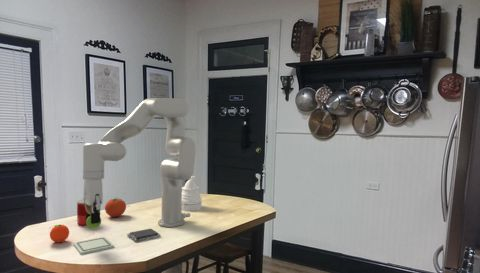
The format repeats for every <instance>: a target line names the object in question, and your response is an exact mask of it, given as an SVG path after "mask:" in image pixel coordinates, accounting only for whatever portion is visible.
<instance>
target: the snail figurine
mask: <svg viewBox="0 0 480 273" xmlns="http://www.w3.org/2000/svg"><path fill="white" fill-rule="evenodd" d="M84 204H85V209H86V211H87V213H88V214H90V216H89V217H88V218H87V220H86V225H87V226H86V227H87V228H89V229H91V230H94V229H98V227H100V226H101V224H102V218H101V217H100V223H94V224H92V223H91V213H92V206H89V207H88V205H87V204H86V203H85V198H84ZM93 205H96V203H93ZM95 207H96V206H95ZM95 207H94V208H95Z"/></svg>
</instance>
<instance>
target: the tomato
mask: <svg viewBox="0 0 480 273" xmlns="http://www.w3.org/2000/svg"><path fill="white" fill-rule="evenodd" d="M126 209H127V205H126V202H125V201H124V200H123V199H121V198H118V197H115V198H112V199H109V200H108V201H107V202H106V204H105V205H104V211H105V213H106V214H107V216H109V217H113V218H117V217H120V216H121V215H123V214H124V213H125V212H126Z"/></svg>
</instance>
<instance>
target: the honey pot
mask: <svg viewBox="0 0 480 273" xmlns="http://www.w3.org/2000/svg"><path fill="white" fill-rule="evenodd" d="M195 179H196V176H195V175H192V176H191V178H190V179H188V180H186V182H185V184H184V186H182V211H183V212H193V211H199V210H201V209H202V205H203V204H202V202H203V200H202V197H201V193H200V191H199V189H200V187H199V186H197V184H196V182H195Z"/></svg>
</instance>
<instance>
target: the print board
mask: <svg viewBox="0 0 480 273" xmlns="http://www.w3.org/2000/svg"><path fill="white" fill-rule="evenodd" d="M73 247H74V248H75V249H76V250H77V252H78V253H79V254H80V255H81V256H82V255H85V254H90V253H94V252H99V251H103V250H105V251H106V250H109V249H113V248H115V245H114V244H113V243H112V241H110V239H108V238H107V237H106V236H101V237H97V238H91V239H87V240H82V241H76V242H75V241H74V242H73Z"/></svg>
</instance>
